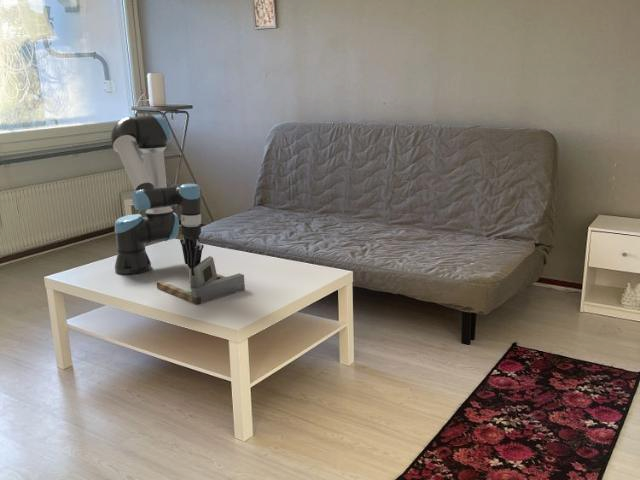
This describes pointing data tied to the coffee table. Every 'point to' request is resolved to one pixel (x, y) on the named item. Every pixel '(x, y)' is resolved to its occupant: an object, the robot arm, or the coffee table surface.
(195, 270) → the digital clock
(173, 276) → the coffee table surface
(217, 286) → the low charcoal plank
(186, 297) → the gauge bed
